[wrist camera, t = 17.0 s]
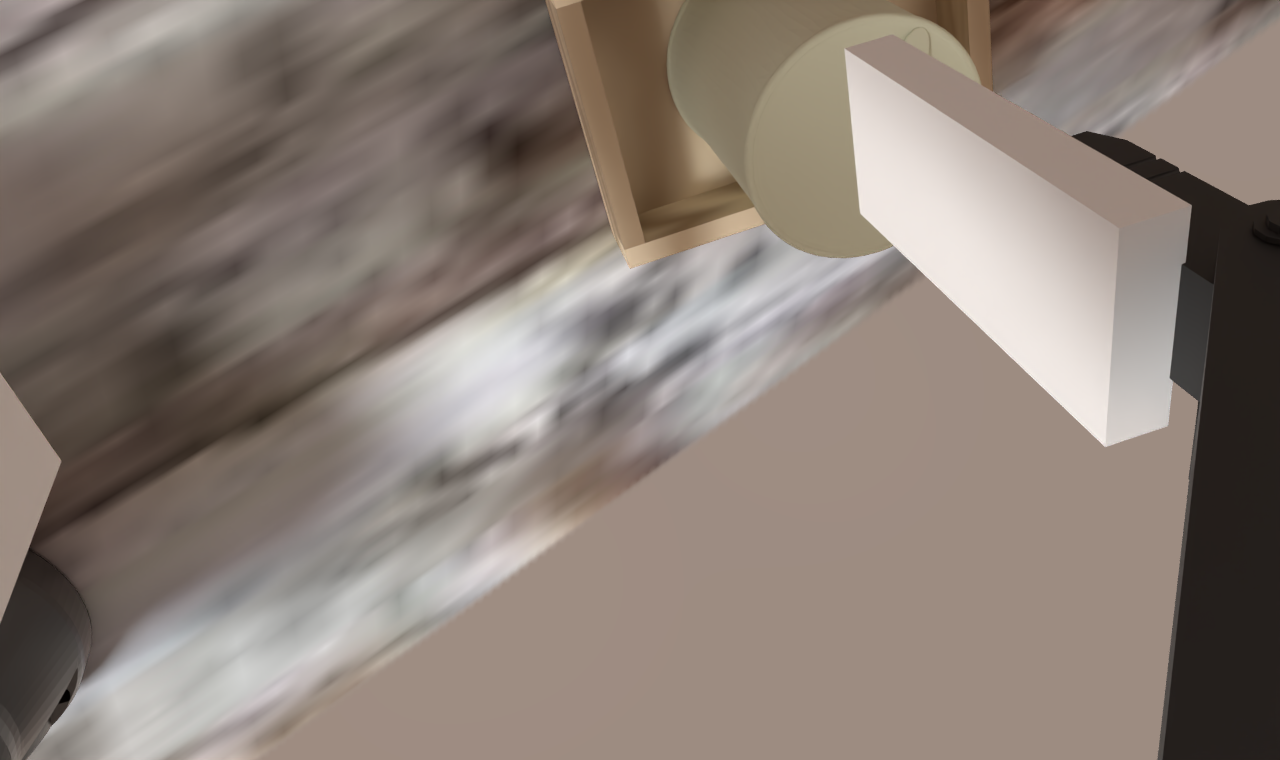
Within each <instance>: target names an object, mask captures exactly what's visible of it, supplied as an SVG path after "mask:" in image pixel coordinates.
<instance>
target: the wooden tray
mask: <svg viewBox="0 0 1280 760" xmlns="http://www.w3.org/2000/svg"><path fill="white" fill-rule="evenodd" d="M545 1H546V5H547V8H548V12H549V15H550V19H551V22H552V26H553V29H554V32H555V36H556V39H557V43H558V46H559V50H560V53H561V57H562V60H563V64H564V67H565V71H566V74H567V78H568V81H569V84H570V88H571V91H572V95H573V98H574V102H575V105H576V109H577V112H578V116H579V119H580V123H581V126H582V130H583V133H584V136H585V140H586V143H587V147H588V150H589V154H590V157H591V161H592V164H593V168H594V171H595V175H596V178H597V182H598V185H599V188H600V192H601V195H602V199H603V202H604V206H605V209H606V213H607V216H608V220H609V223H610V227H611V230H612V233H613V235H614V237H615V239H616V241H617V243H618V245H619V247H620V250H621V252H622V254H623V256H624V258H625V260H626V262H627V264H628V266H629V268H630V269H631V268H634V267H637V266H640V265H643V264H646V263H649V262H652V261H655V260H658V259H661V258H664V257H667V256H670V255H673V254H676V253H679V252H682V251H685V250H688V249H691V248H694V247H697V246H700V245H703V244H706V243H709V242H712V241H715V240H718V239H721V238H724V237H727V236H730V235H733V234H736V233H739V232H742V231H745V230H748V229H751V228H754V227H757V226H760V225H763V224H765V223H764V221H763V220H762V219H761V217H760V216H759V214H758V212H757V211H756V209H755V207H754V205H753V203H752V201H751V200H750V199H749V197H748V196H747V194H746V193H745V192H744V190H743V189H742V188H741V186H740V185H739V184H738V182H737V181H736V180H735V178H734V177H733V176H732V174H731V173H730V172H729V170H728V169H727V168H726V167H725V165H724V164H723V163H722V161H721V160H720V159H719V158H718V156H717V155H716V154H715V152H714V151H713V150H712V149H711V147H710V146H709V145H708V144H707V142H706V141H705V140H703V139H702V138H701V137H700V136H698V135H697V134H696V133H695V132H694V131H693V130H692V129H691V128H690V127H689V126H688V125H687V123H686V122H685V121H684V119H683V118H682V116H681V115H680V113H679V111H678V109H677V107H676V105H675V103H674V100H673V98H672V95H671V92H670V88H669V84H668V77H667V49H668V44H669V39H670V34H671V31H672V28H673V25H674V22H675V19H676V17H677V15H678V13H679V11H680V9H681V7H682V5H683V3H684V2H685V0H545ZM887 1H889V2H891V3H893V4H895V5H897V6H898V7H900V8H902V9H904V10H906V11H908V12H910V13H912V14H914V15H916V16H919V17H922V18H925V19H927V20H930V21H932V22H934V23H935V24H937V25H939V26H940V27H942V28H944V29H945V30H947V31H948V32H949V33H950V34H952V35H953V36H954V37H955V38H956V39H957V40H958V41H959V42H960V44H961V45H962V46H963V47H964V48H965V50H966V51H967V53H968V54H969V56H970V57H971V59H972V61H973V63H974V65H975V67H976V70H977V72H978V75H979V77H980V81H981V85H982V86H984V87H986V88H987V89H989V90H991V91H993V81H992V57H991V33H990V9H989V0H887Z"/></svg>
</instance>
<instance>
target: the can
mask: <svg viewBox="0 0 1280 760" xmlns="http://www.w3.org/2000/svg"><path fill="white" fill-rule="evenodd" d="M892 34H893V35H894V36H896V37H898V38H900V39H901V40H903V41H905V42H907V43H908V44H910V45H912V46H914V47H915V48H917V49H919V50H921V51H923V52H924V53H926V54H928V55H930V56H931V57H933V58H935V59H937V60H938V61H940V62H942V63H944V64H945V65H947V66H949V67H951V68H952V69H954V70H956V71H958V72H959V73H961V74H963V75H965V76H966V77H968V78H970V79H972V80H973V81H975V82H977V83H979V84H980V85H981V81H980V77H979V75H978V72H977V70H976V67H975V65H974V63H973V61H972V59H971V57H970V56H969V54H968V53H967V51H966V50H965V48H964V47H963V46H962V45H961V44H960V42H959V41H958V40H957V39H956V38H955V37H954V36H953V35H952V34H950V33H949V32H948V31H947V30H945V29H944V28H942V27H940V26H939V25H937V24H935V23H934V22H932V21H930V20H927V19H925V18H922V17H919V16H916V15H914V14H912V13H910V12H908V11H906V10H904V9H902V8H900V7H898V6H897V5H895V4H893V3H891V2H889V1H887V0H685V2H684V3H683V5H682V7H681V9H680V11H679V13H678V15H677V17H676V19H675V22H674V25H673V28H672V31H671V34H670V39H669V44H668V49H667V77H668V84H669V88H670V92H671V95H672V98H673V100H674V103H675V105H676V107H677V109H678V111H679V113H680V115H681V116H682V118H683V119H684V121H685V122H686V123H687V125H688V126H689V127H690V128H691V129H692V130H693V131H694V132H695V133H696V134H697V135H698V136H700V137H701V138H702V139H703V140H705V141H706V142H707V144H708V145H709V146H710V147H711V149H712V150H713V151H714V152H715V154H716V155H717V156H718V158H719V159H720V160H721V161H722V163H723V164H724V165H725V167H726V168H727V169H728V170H729V172H730V173H731V174H732V176H733V177H734V178H735V180H736V181H737V182H738V184H739V185H740V186H741V188H742V189H743V190H744V192H745V193H746V194H747V196H748V197H749V199H750V200H751V201H752V203H753V205H754V207H755V209H756V211H757V212H758V214H759V216H760V217H761V219H762V220H763V221H764V223H765V224H766V225H767V226H768V227H769V229H770V230H771V231H772V232H773V233H774V234H776V235H777V236H778V237H779V238H780V239H782V240H783V241H785V242H786V243H788V244H789V245H791V246H793V247H795V248H797V249H799V250H802V251H804V252H807V253H810V254H813V255H817V256H822V257H829V258H850V257H859V256H865V255H869V254H872V253H876V252H880V251H882V250H885V249H887V248H890V247H892V246H894V245H893V244H892V243H891V242H889V241H888V240H887V239H886V238H885V237H884V236H883V235H882V234H881V233H880V232H879V231H878V230H877V229H876V228H875V227H874V226H873V225H872V224H871V223H870V222H868V221H867V220H866V219H865V218H864V217H863V216H862V215H861V214H860V207H859V197H858V186H857V176H856V165H855V155H854V144H853V134H852V123H851V113H850V102H849V92H848V81H847V71H846V60H845V50H844V48H848V47H851V46H854V45H858V44H861V43H865V42H868V41H871V40H875V39H878V38H881V37H885V36H888V35H892Z"/></svg>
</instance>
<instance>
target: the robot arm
mask: <svg viewBox="0 0 1280 760" xmlns="http://www.w3.org/2000/svg"><path fill="white" fill-rule="evenodd" d="M844 50H845V60H846V71H847V81H848V92H849V102H850V113H851V123H852V134H853V144H854V155H855V165H856V176H857V186H858V197H859V207H860V214H861V215H862V216H863V217H864V218H865V219H866V220H867V221H868V222H870V223H871V224H872V225H873V226H874V227H875V228H876V229H877V230H878V231H879V232H880V233H881V234H882V235H883V236H884V237H885V238H886V239H887V240H888V241H889V242H891V243H892V244H893V245H894V246H895V247H896V248H897V249H898V250H899V251H900V252H901V253H902V254H903V255H904V256H905V257H906V258H907V259H908V260H909V261H910V262H912V263H913V264H914V265H915V266H916V267H917V268H918V269H919V270H920V271H921V272H922V273H923V274H924V275H925V276H926V277H927V278H928V279H929V280H930V281H932V282H933V283H934V284H935V285H936V286H937V287H938V288H939V289H940V290H941V291H942V292H943V293H944V294H945V295H946V296H947V297H948V298H949V299H950V300H951V301H953V302H954V303H955V304H956V305H957V306H958V307H959V308H960V309H961V310H962V311H963V312H964V313H965V314H966V315H967V316H968V317H970V319H971V320H972V321H974V322H975V323H976V324H977V325H978V326H979V327H980V328H981V329H982V330H983V331H984V332H985V333H986V334H987V335H988V336H989V337H990V338H991V339H993V340H994V341H995V342H996V343H997V344H998V345H999V346H1000V347H1001V348H1002V349H1003V350H1004V351H1005V352H1006V353H1007V354H1008V355H1009V356H1010V357H1011V358H1013V359H1014V361H1016V362H1017V363H1018V364H1019V365H1020V366H1021V367H1022V368H1023V369H1024V370H1025V371H1026V372H1027V373H1028V374H1029V375H1030V376H1031V377H1032V378H1033V379H1034V380H1036V381H1037V382H1038V383H1039V384H1040V385H1041V386H1042V387H1043V388H1044V389H1045V390H1046V391H1047V392H1048V393H1049V394H1050V395H1051V396H1052V397H1053V398H1054V399H1055V400H1056V401H1058V402H1059V403H1060V404H1061V405H1062V406H1063V407H1064V408H1065V409H1066V410H1067V411H1068V412H1069V413H1070V414H1071V415H1072V416H1073V417H1074V418H1075V419H1076V420H1077V421H1079V422H1080V423H1081V424H1082V425H1083V426H1084V427H1085V428H1086V429H1087V430H1088V431H1089V432H1090V433H1091V434H1092V435H1093V436H1094V437H1095V438H1096V439H1098V441H1100V442H1101V443H1102V444H1103V445H1104V446H1105V447H1106V446H1110V445H1113V444H1116V443H1118V442H1122V441H1125V440H1127V439H1130V438H1133V437H1136V436H1139V435H1142V434H1145V433H1148V432H1151V431H1154V430H1157V429H1160V428H1163V427H1166V426H1168V420H1169V411H1170V402H1171V393H1172V384H1173V381H1174V382H1175V383H1176V384H1178V385H1179V386H1180V387H1181V388H1183V389H1184V390H1185V391H1186V392H1188V393H1189V394H1190V395H1191V396H1193V397H1194V398H1195V399H1196V400H1198V409H1197V417H1196V425H1195V433H1194V440H1193V448H1192V456H1191V464H1190V472H1189V486H1188V495H1187V505H1186V513H1185V522H1184V531H1183V539H1182V548H1181V558H1180V567H1179V575H1178V584H1177V593H1176V601H1175V611H1174V619H1173V628H1172V636H1171V645H1170V654H1169V663H1168V672H1167V681H1166V690H1165V699H1164V707H1163V716H1162V725H1161V734H1160V743H1159V751H1158V760H1280V200H1270V201H1265V202H1261V203H1257V204H1253V205H1247V204H1245V203H1243V202H1241V201H1240V200H1238V199H1236V198H1234V197H1232V196H1230V195H1228V194H1226V193H1224V192H1223V191H1221V190H1219V189H1217V188H1215V187H1213V186H1211V185H1210V184H1208V183H1206V182H1204V181H1202V180H1200V179H1198V178H1197V177H1195V176H1193V175H1191V174H1189V173H1187V172H1185V171H1184V172H1181V173H1180V172H1179V168H1178V167H1176V166H1174V165H1172V164H1170V163H1169V162H1167V161H1165V160H1163V159H1158V160H1156V156H1155V155H1153V154H1152V153H1150V152H1148V151H1146V150H1144V149H1142V148H1141V147H1139V146H1136V145H1135V144H1133V143H1131V142H1129V141H1127V140H1124V139H1119V138H1115V137H1110V136H1106V135H1101V134H1097V133H1092V132H1088V131H1086V132H1083V133H1080V134H1077V135H1073V136H1070V135H1068V134H1066V133H1064V132H1063V131H1061V130H1059V129H1057V128H1056V127H1054V126H1052V125H1050V124H1049V123H1047V122H1045V121H1043V120H1042V119H1040V118H1038V117H1036V116H1035V115H1033V114H1031V113H1029V112H1028V111H1026V110H1024V109H1022V108H1021V107H1019V106H1017V105H1015V104H1014V103H1012V102H1010V101H1008V100H1007V99H1005V98H1003V97H1001V96H1000V95H998V94H996V93H994V92H993V91H991V90H989V89H987V88H986V87H984V86H982V85H980V84H979V83H977V82H975V81H973V80H972V79H970V78H968V77H966V76H965V75H963V74H961V73H959V72H958V71H956V70H954V69H952V68H951V67H949V66H947V65H945V64H944V63H942V62H940V61H938V60H937V59H935V58H933V57H931V56H930V55H928V54H926V53H924V52H923V51H921V50H919V49H917V48H915V47H914V46H912V45H910V44H908V43H907V42H905V41H903V40H901V39H900V38H898V37H896V36H894V35H893V34H892V35H888V36H885V37H881V38H878V39H875V40H871V41H868V42H865V43H861V44H858V45H854V46H851V47H848V48H844ZM60 464H61V460H60V458H59V457H58V455H57V454H56V452H55V451H54V449H53V448H52V447H51V445H50V444H49V442H48V441H47V439H46V438H45V436H44V435H43V434H42V432H41V431H40V429H39V428H38V426H37V425H36V423H35V422H34V421H33V419H32V418H31V416H30V415H29V413H28V412H27V410H26V409H25V408H24V406H23V405H22V403H21V402H20V400H19V399H18V398H17V396H16V395H15V393H14V392H13V390H12V389H11V387H10V386H9V385H8V383H7V382H6V380H5V379H4V377H3V376H2V374H1V373H0V760H27V758H28V757H29V756H30V754H31V753H32V752H33V751H34V749H35V748H36V747H37V746H38V744H39V743H40V742H41V740H42V739H43V738H44V736H45V735H46V734H47V732H48V731H49V729H50V727H51V726H52V725H53V724H54V723H55V722H56V721H57V720H58V719H59V717H60V716H61V715H62V714H63V713H64V711H65V710H66V709H67V707H68V706H69V704H70V703H71V701H72V700H73V698H74V696H75V694H76V692H77V690H78V688H79V686H80V683H81V680H82V677H83V673H84V670H85V667H86V663H87V660H88V656H89V653H90V648H91V640H92V631H91V623H90V619H89V615H88V612H87V610H86V607H85V605H84V603H83V601H82V599H81V598H80V596H79V594H78V593H77V591H76V590H75V589H74V587H73V586H72V585H71V584H70V582H69V581H68V580H67V579H66V578H65V577H64V576H63V575H62V574H61V573H60V572H59V571H58V570H57V569H55V568H54V567H53V566H52V565H51V564H49V563H48V562H46V561H45V560H44V559H42V558H41V557H39V556H38V555H36V554H35V553H33V552H31V551H29V550H28V549H29V546H30V543H31V541H32V538H33V535H34V533H35V530H36V527H37V525H38V522H39V520H40V517H41V514H42V512H43V509H44V506H45V504H46V501H47V498H48V496H49V493H50V490H51V488H52V485H53V483H54V480H55V477H56V475H57V472H58V469H59V467H60Z"/></svg>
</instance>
